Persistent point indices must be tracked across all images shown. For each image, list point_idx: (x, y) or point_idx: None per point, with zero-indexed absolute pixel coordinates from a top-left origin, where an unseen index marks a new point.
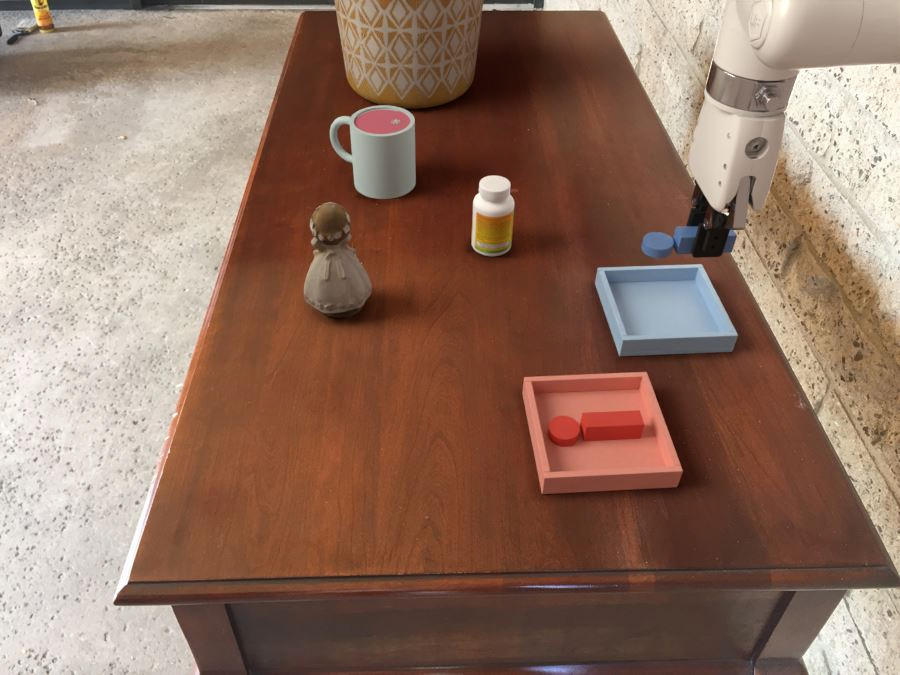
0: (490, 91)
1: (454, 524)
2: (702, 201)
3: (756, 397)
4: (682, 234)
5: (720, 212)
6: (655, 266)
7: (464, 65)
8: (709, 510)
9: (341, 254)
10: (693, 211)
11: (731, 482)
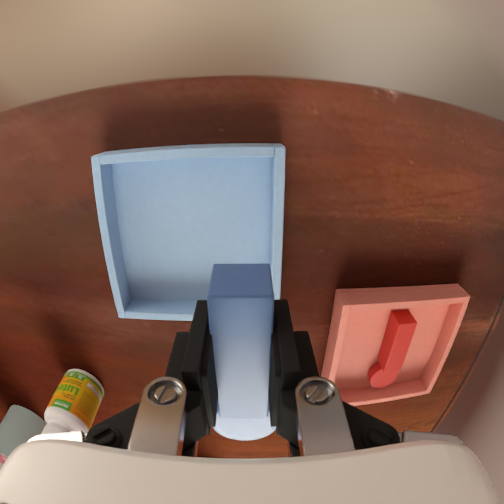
0: None
1: (417, 416)
2: (194, 441)
3: (374, 146)
4: (255, 414)
5: (199, 366)
6: (103, 236)
7: None
8: (482, 261)
9: None
10: (209, 430)
11: (468, 230)
